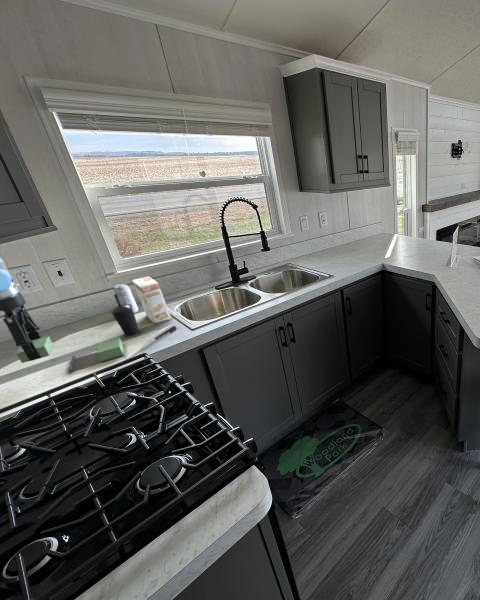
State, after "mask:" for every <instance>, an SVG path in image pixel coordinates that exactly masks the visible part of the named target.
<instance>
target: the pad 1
mask: <svg viewBox="0 0 480 600" xmlns="http://www.w3.org/2000/svg"><path fill="white" fill-rule="evenodd" d="M31 342H33V344H34V346H35V347H36V349H37V351H38V352H39V354H40V356H41V358H40V359H42V358H46V357H50V355H51V353H52V350H53V348H54V343H53V342H52V339H51V338H50V336H48V335H47V336H44V337H41V338H39V339H35V340H31ZM15 354H16V356H17V358H18V360H19V361H20V362H21V364H24V363H27V362H31V361H30V360H29V358H28V357H27V355H26V353H25V352H24V350H23V349H22V347H21V346H18V348H17V351H16V353H15Z"/></svg>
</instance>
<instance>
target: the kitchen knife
mask: <svg viewBox="0 0 480 600" xmlns="http://www.w3.org/2000/svg"><path fill="white" fill-rule="evenodd" d="M175 330H177V327H176V325H173V326H171V327H170V328H168V329H166V330H165V331H163V332H162V333H160V334H159V335H157V336H156V337H155V338H152V340H150V341H149V342H147V343H145V344H144V345H143V346H142V347H141V349H144V348H145V347H147V346H148V345H150V344H151V343H152V342H154V341H156V340H158V339H160V338H162V337H163V336H165V335H166V334H168V333H169V334H170V333H172V332H174V331H175Z"/></svg>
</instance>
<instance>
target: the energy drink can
mask: <svg viewBox="0 0 480 600" xmlns="http://www.w3.org/2000/svg"><path fill="white" fill-rule="evenodd" d="M113 288H114V289H113V292H114V295H116V296H117V298H118V300H119V302H120V305H123V304H130V305H132V309H133V312H134V314H136V313H137V312H138V311H139V307H138V305H137V303H136V300H135V297H134V295H133V293H132V291H131V288H130V286H128V285H127V284H126V283H122V284H121V283H120V284H117V285H114V287H113Z"/></svg>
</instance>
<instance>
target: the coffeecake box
mask: <svg viewBox="0 0 480 600" xmlns="http://www.w3.org/2000/svg"><path fill="white" fill-rule="evenodd" d="M131 281H132V284H133V286H134V289H135V291H136V293H137V296H138V298H139V301H140V303H141V306H142V308H143V310H144V312H145V313H144V314H145V315H146V317H147V318H148V320H150V321H151V322H152V323H155V324H156V323H160V322H162V321H166V322H168V321H170V320H172V316H171V313H170V312H169V309H168V305H167V302H166V301H165V297H164V295H163V292H162V290H161V287H160V284H159V282H158V281H156V280H154V279H153V278H152V277H150V276H148V275H147V276H143V277H140V278H136V279H135V278H134V279H132V280H131Z"/></svg>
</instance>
